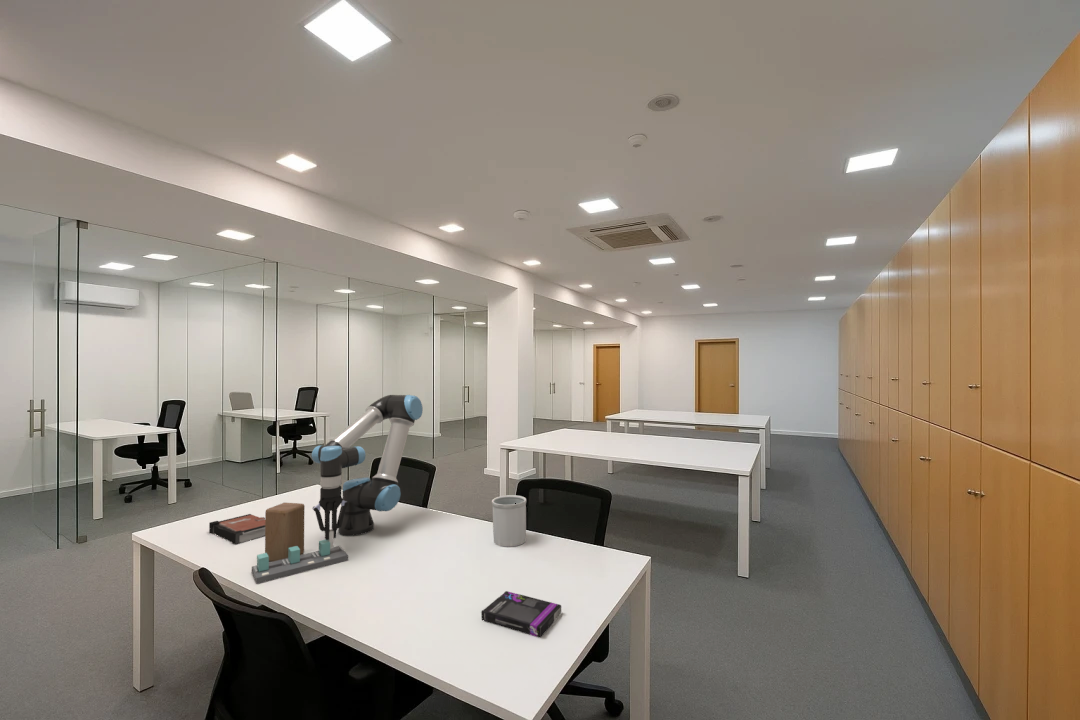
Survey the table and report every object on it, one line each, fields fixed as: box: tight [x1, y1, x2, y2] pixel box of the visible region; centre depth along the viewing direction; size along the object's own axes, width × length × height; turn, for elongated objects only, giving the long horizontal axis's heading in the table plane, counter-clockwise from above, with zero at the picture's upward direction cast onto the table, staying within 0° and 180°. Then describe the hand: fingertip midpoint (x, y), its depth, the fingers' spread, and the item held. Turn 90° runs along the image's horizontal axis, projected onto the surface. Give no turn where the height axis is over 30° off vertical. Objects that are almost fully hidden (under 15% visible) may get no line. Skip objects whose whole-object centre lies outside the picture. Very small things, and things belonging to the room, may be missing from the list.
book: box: [208, 513, 265, 546], centre depth 203 cm, size 26×18×5 cm
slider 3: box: [318, 538, 330, 556], centre depth 173 cm, size 3×4×4 cm, turn 40°
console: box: [251, 545, 349, 585], centre depth 167 cm, size 30×12×3 cm, turn 130°
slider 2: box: [288, 546, 300, 564], centre depth 166 cm, size 3×4×4 cm, turn 40°
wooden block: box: [264, 502, 305, 562], centre depth 175 cm, size 10×10×20 cm
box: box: [480, 590, 562, 638], centre depth 132 cm, size 14×4×20 cm
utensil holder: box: [491, 494, 527, 548], centre depth 191 cm, size 15×15×18 cm
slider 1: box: [256, 552, 270, 572], centre depth 160 cm, size 3×4×4 cm, turn 40°
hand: (330, 547), depth 174 cm, fingers closed
